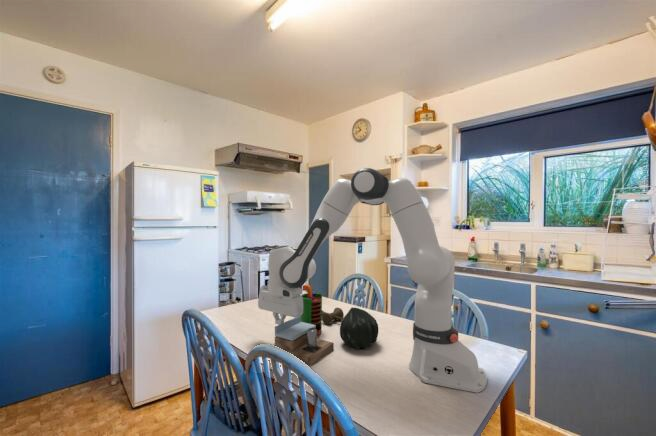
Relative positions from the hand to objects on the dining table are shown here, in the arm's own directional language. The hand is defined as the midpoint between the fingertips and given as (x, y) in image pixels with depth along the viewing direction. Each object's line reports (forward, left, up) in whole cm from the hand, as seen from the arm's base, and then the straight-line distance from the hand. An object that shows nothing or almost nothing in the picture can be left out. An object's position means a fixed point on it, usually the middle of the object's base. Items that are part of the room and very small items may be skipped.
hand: (279, 324), depth 114 cm
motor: (-4, -15, -8) cm, 17 cm away
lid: (-8, 0, -1) cm, 8 cm away
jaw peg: (-16, +1, -8) cm, 18 cm away
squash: (-26, -16, -8) cm, 32 cm away
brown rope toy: (-1, -32, -8) cm, 33 cm away
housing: (-12, 0, -8) cm, 14 cm away
